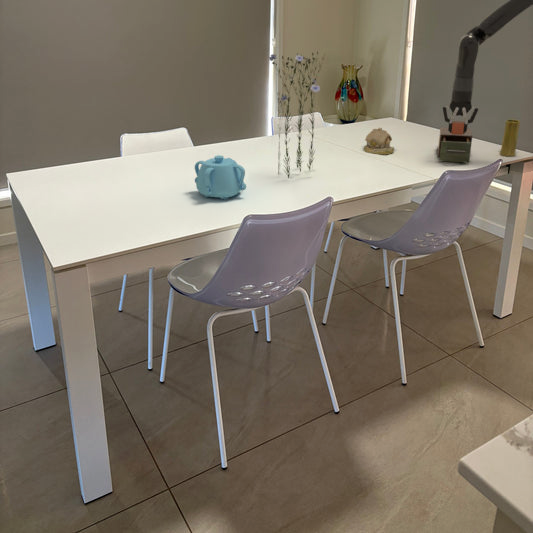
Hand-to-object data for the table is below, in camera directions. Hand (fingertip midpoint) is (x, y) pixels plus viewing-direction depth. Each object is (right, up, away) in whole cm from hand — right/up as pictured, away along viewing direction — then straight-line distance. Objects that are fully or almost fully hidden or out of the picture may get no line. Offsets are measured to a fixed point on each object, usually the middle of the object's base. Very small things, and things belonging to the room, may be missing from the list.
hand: (457, 132), depth 237 cm
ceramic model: (-28, -4, +20) cm, 35 cm away
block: (0, 0, 0) cm, 0 cm away
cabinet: (+3, -6, +14) cm, 16 cm away
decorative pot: (-93, -29, -32) cm, 102 cm away
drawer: (0, -10, +4) cm, 11 cm away
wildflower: (-66, -19, -12) cm, 70 cm away
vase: (+25, -7, +12) cm, 29 cm away
